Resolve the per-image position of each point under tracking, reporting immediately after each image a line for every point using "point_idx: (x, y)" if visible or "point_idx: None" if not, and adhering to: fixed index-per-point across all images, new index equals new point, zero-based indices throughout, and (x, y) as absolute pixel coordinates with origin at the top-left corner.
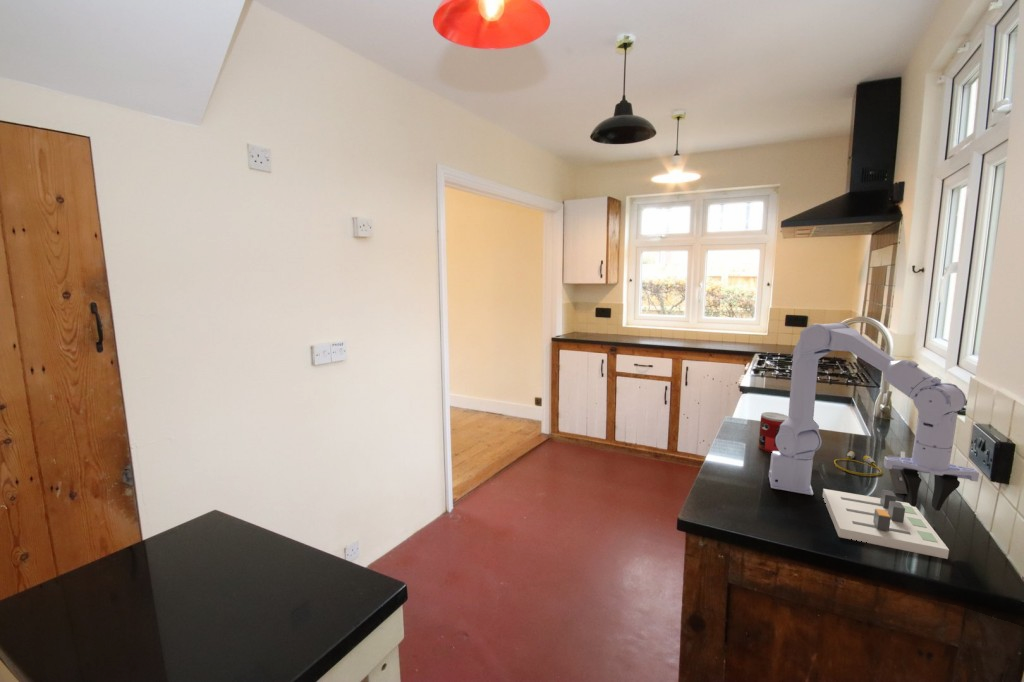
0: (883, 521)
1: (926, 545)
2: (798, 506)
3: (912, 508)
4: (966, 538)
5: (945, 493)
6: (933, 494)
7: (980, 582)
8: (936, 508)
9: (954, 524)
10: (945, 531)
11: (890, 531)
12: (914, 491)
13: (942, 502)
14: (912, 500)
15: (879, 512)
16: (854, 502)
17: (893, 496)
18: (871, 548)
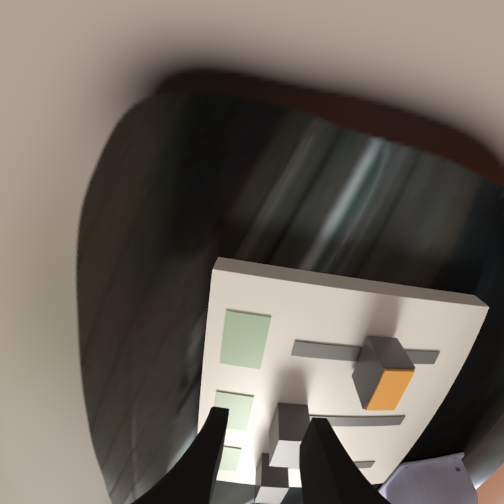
0: (394, 355)
1: (280, 279)
2: (465, 408)
3: None
4: (119, 377)
5: (187, 484)
6: (213, 486)
7: (186, 137)
8: (226, 415)
9: (126, 425)
10: (155, 400)
11: (354, 341)
12: (350, 480)
13: (202, 439)
14: (338, 438)
15: (402, 387)
16: (351, 458)
17: (268, 486)
18: (427, 257)
